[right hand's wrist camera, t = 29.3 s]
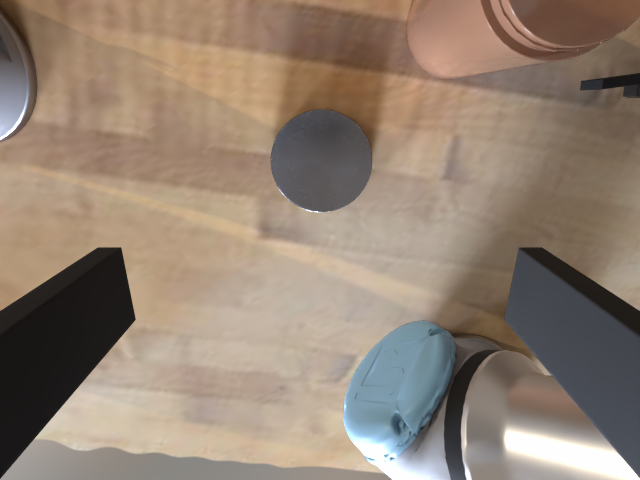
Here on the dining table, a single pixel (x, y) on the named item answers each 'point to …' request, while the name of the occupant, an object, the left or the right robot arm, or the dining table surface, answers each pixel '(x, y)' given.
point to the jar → (509, 32)
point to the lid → (321, 160)
